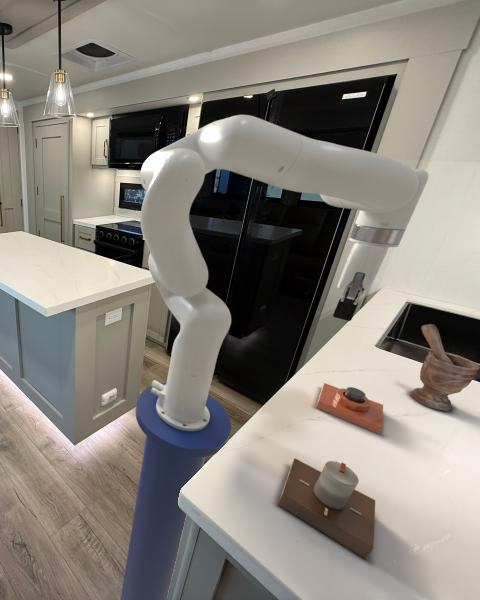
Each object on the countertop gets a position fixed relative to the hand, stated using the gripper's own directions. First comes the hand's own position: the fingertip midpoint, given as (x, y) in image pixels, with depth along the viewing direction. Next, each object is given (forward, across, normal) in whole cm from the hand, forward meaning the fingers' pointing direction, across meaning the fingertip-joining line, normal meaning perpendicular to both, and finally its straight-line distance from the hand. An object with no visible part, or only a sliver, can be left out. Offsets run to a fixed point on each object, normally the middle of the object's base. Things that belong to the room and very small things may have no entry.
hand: (341, 317), depth 69 cm
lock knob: (+22, +29, +7) cm, 37 cm away
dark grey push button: (+21, -6, +8) cm, 24 cm away
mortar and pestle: (+25, -26, +22) cm, 42 cm away
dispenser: (+25, -6, +8) cm, 27 cm away
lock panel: (+25, +29, +7) cm, 39 cm away
